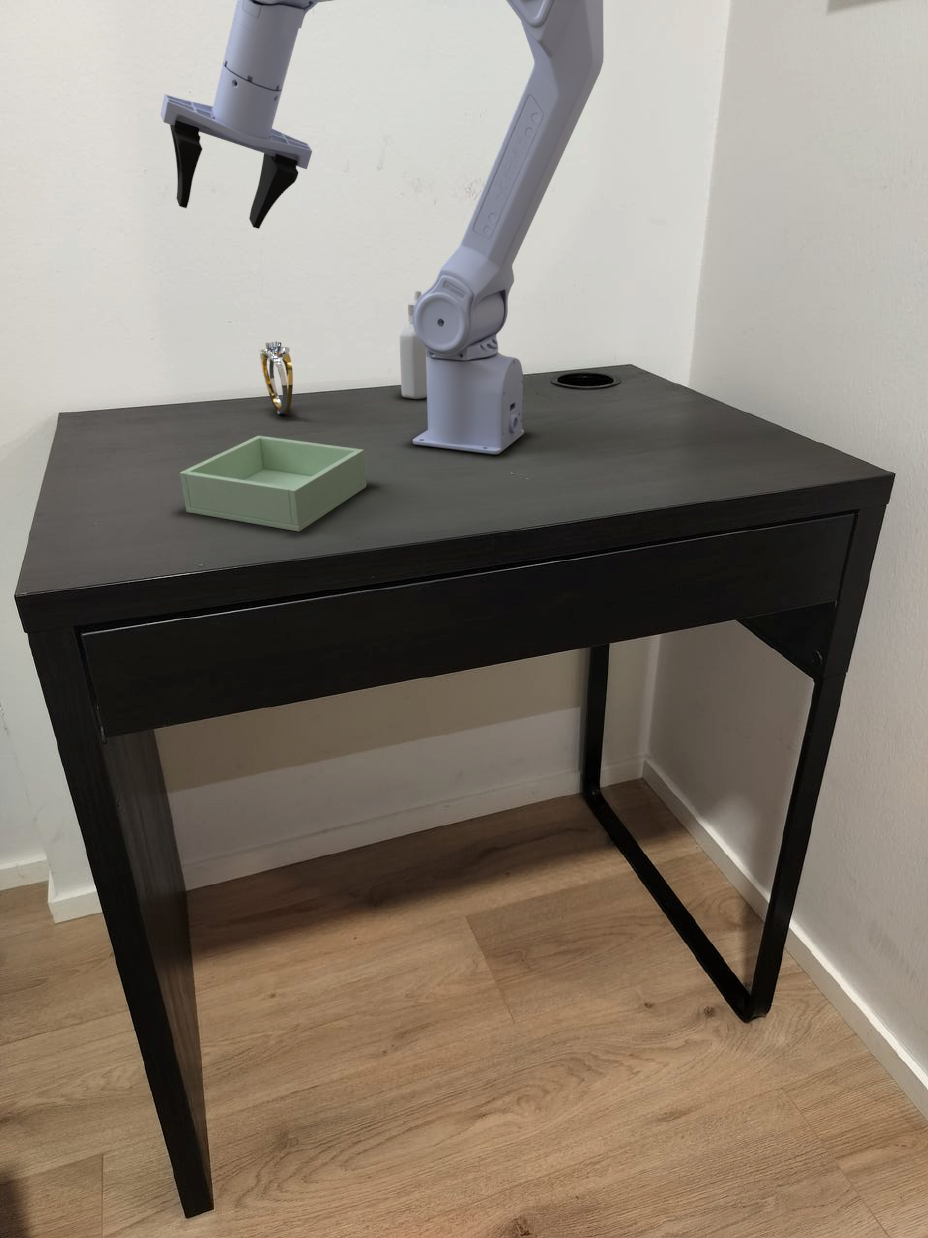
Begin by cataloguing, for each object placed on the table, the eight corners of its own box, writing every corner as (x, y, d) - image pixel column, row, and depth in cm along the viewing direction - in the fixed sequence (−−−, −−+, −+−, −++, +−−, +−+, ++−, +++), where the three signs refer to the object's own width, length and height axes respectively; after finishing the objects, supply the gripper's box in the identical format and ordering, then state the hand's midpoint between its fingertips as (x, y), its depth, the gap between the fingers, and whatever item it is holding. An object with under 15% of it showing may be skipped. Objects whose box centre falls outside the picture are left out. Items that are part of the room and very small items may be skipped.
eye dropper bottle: (392, 393, 109) (388, 290, 103) (433, 387, 111) (430, 286, 105) (408, 401, 105) (404, 295, 100) (449, 395, 108) (448, 291, 102)
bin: (366, 486, 80) (364, 449, 78) (299, 532, 71) (294, 490, 69) (262, 471, 84) (258, 435, 82) (186, 512, 74) (179, 472, 73)
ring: (260, 408, 103) (252, 337, 99) (287, 405, 104) (280, 335, 100) (274, 423, 97) (266, 349, 94) (303, 420, 99) (296, 346, 95)
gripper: (313, 88, 90) (276, 216, 98) (169, 32, 83) (141, 176, 91) (331, 113, 86) (291, 245, 94) (181, 57, 78) (151, 206, 86)
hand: (218, 213), depth 92 cm, fingers open, 7 cm apart
